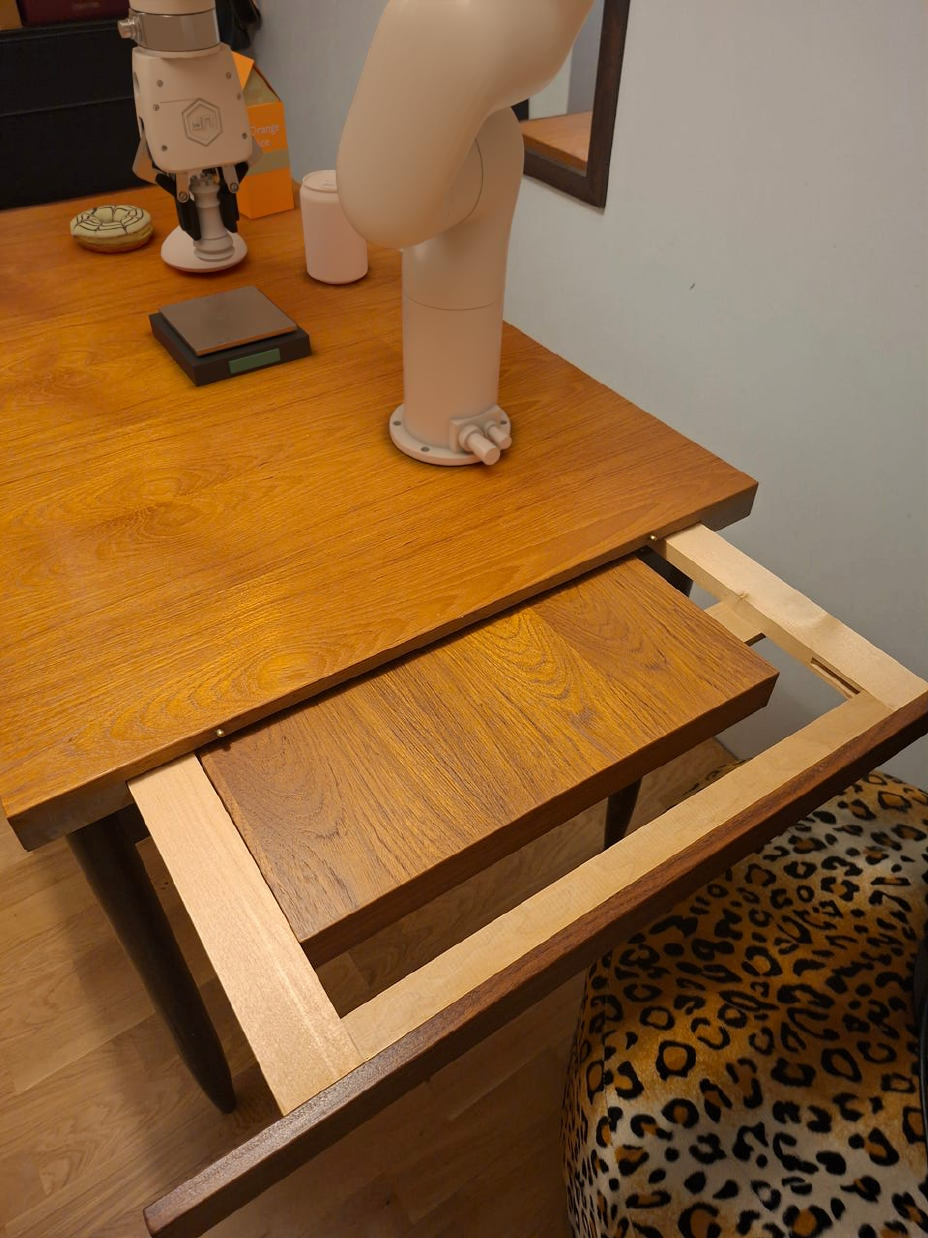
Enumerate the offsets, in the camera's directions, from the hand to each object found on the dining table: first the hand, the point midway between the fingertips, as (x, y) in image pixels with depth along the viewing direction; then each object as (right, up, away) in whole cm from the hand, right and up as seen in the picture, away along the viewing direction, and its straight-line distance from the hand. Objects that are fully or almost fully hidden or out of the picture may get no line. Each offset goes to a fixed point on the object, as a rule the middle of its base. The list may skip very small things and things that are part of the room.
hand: (211, 230), depth 93 cm
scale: (0, -9, +9) cm, 13 cm away
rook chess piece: (0, -2, +2) cm, 3 cm away
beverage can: (+10, +5, +24) cm, 27 cm away
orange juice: (-5, +22, +41) cm, 46 cm away
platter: (0, -7, +7) cm, 10 cm away
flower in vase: (-7, +7, +26) cm, 27 cm away
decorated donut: (-22, +11, +29) cm, 38 cm away
